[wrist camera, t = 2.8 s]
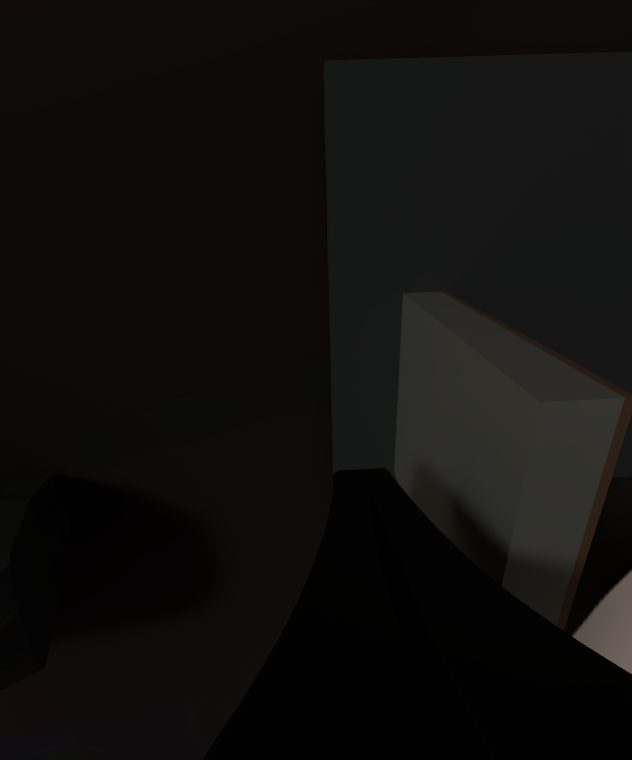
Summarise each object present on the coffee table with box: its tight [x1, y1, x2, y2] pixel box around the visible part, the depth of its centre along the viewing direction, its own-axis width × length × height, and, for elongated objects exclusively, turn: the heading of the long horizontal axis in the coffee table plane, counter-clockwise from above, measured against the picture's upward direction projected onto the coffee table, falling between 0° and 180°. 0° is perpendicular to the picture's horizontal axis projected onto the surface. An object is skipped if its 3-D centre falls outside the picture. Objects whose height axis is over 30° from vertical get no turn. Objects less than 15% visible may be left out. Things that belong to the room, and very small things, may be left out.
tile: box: [394, 291, 632, 631], centre depth 12 cm, size 8×2×9 cm, turn 2°
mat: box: [323, 52, 632, 483], centre depth 15 cm, size 16×15×1 cm
